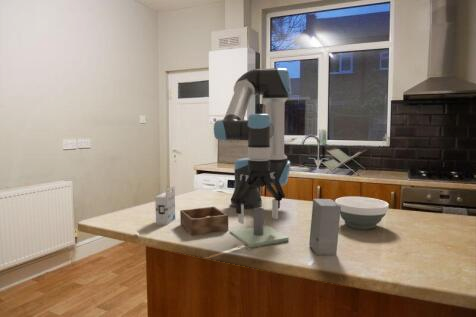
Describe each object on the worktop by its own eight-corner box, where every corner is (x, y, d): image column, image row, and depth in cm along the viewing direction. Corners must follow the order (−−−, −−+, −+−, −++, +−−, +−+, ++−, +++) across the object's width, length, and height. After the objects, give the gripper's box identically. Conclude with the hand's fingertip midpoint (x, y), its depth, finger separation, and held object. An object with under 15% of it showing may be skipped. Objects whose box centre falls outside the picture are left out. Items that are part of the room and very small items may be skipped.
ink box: (164, 220, 138) (163, 184, 137) (175, 220, 137) (175, 185, 136) (155, 226, 130) (154, 188, 128) (167, 227, 129) (166, 189, 127)
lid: (265, 227, 126) (266, 202, 125) (288, 240, 113) (289, 211, 112) (230, 233, 120) (229, 206, 119) (249, 247, 107) (249, 216, 105)
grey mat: (265, 228, 126) (265, 227, 126) (288, 241, 113) (288, 240, 113) (229, 234, 120) (229, 233, 120) (249, 248, 107) (249, 247, 106)
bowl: (332, 230, 125) (333, 205, 124) (336, 216, 143) (336, 195, 142) (389, 236, 118) (390, 210, 117) (385, 221, 136) (386, 198, 135)
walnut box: (214, 222, 135) (214, 206, 134) (228, 232, 122) (228, 215, 122) (180, 226, 129) (180, 210, 128) (191, 237, 116) (191, 219, 116)
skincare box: (308, 245, 109) (309, 198, 107) (329, 245, 110) (331, 197, 108) (317, 256, 101) (318, 204, 99) (339, 255, 101) (341, 204, 100)
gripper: (283, 156, 122) (282, 213, 125) (220, 160, 112) (221, 221, 114) (295, 158, 116) (294, 218, 118) (230, 162, 105) (230, 228, 107)
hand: (258, 220), depth 116 cm, fingers open, 13 cm apart
